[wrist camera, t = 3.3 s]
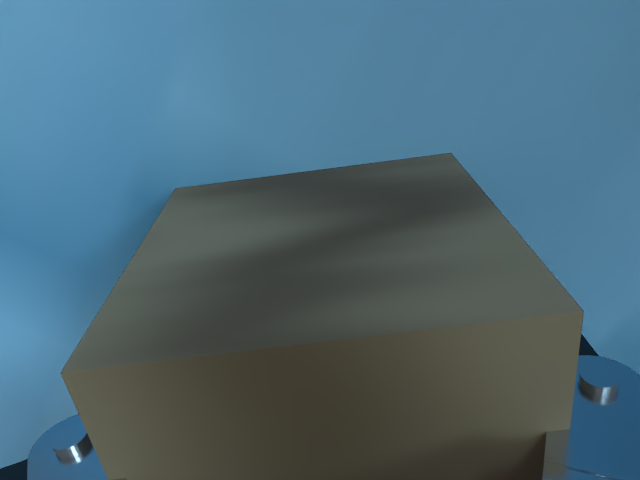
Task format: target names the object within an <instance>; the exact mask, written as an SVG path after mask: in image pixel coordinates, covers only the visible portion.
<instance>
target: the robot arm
mask: <svg viewBox="0 0 640 480" xmlns="http://www.w3.org/2000/svg"><path fill="white" fill-rule="evenodd" d="M0 480H108V479H107V476H106V474H105V472H104V470H103V467H102V465H101V463H100V461H99V458H98V456H97V454H96V452H95V449H94V447H93V445H92V443H91V440H90V438H89V436H88V434H87V431H86V429H85V427H84V425H83V422H82V420H81V418H80V416H79V413H78V415H75V416H72V417H69V418H67V419H65V420H63V421H61V422H59V423H58V424H56V425H54V426H53V427H52V428H50V429H49V430H48V431H46V432H45V433H44V434H43V435H42V436H41V437H40V438H39V439H38V440H37V442H36V443H35V444H34V446H33V447H32V449H31V451H30V453H29V456H28V459H26V460H24V461H21V462H18V463H16V464H13V465H10V466H7V467H4V468H2V469H0ZM112 480H127V479H126V478H121V479H112ZM542 480H640V375H639V374H637V373H636V372H635V371H634V370H632V369H631V368H629V367H628V366H626V365H624V364H622V363H620V362H617V361H615V360H612V359H609V358H605V357H600V356H598V354H597V353H596V352H595V351H594V349H593V348H592V347H591V345H590V344H589V343H588V342H587V340H586V339H585V338H584V337H583V335H582V334H581V339H580V347H579V356H578V365H577V373H576V382H575V390H574V399H573V408H572V416H571V425H570V429H566V430H557V431H548V432H546V444H545V455H544V467H543V478H542Z"/></svg>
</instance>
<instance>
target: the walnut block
mask: <svg viewBox="0 0 640 480" xmlns="http://www.w3.org/2000/svg"><path fill="white" fill-rule="evenodd" d="M583 313H584V311H583V310H582V308H581V307H580V306H579V305H578V304H577V302H576V301H575V300H574V299H573V298H572V296H571V295H570V294H569V293H568V292H567V291H566V289H565V288H564V287H563V286H562V285H561V283H560V282H559V281H558V280H557V279H556V277H555V276H554V275H553V274H552V273H551V271H550V270H549V269H548V268H547V267H546V265H545V264H544V263H543V262H542V261H541V260H540V258H539V257H538V256H537V255H536V254H535V252H534V251H533V250H532V249H531V248H530V246H529V245H528V244H527V243H526V242H525V240H524V239H523V238H522V237H521V236H520V234H519V233H518V232H517V231H516V230H515V229H514V227H513V226H512V225H511V224H510V223H509V221H508V220H507V219H506V218H505V217H504V215H503V214H502V213H501V212H500V211H499V209H498V208H497V207H496V206H495V205H494V203H493V202H492V201H491V200H490V199H489V197H488V196H487V195H486V194H485V193H484V192H483V190H482V189H481V188H480V187H479V186H478V184H477V183H476V182H475V181H474V180H473V178H472V177H471V176H470V175H469V174H468V172H467V171H466V170H465V169H464V168H463V166H462V165H461V164H460V163H459V162H458V161H457V159H456V158H455V157H454V156H453V155H452V153H447V154H439V155H431V156H423V157H416V158H408V159H400V160H392V161H385V162H377V163H369V164H361V165H354V166H346V167H338V168H330V169H323V170H315V171H307V172H299V173H292V174H284V175H276V176H268V177H261V178H253V179H245V180H237V181H230V182H222V183H214V184H206V185H199V186H191V187H183V188H176V189H175V190H174V192H173V193H172V195H171V197H170V198H169V200H168V201H167V203H166V205H165V206H164V208H163V209H162V211H161V213H160V214H159V216H158V217H157V219H156V221H155V222H154V224H153V225H152V227H151V229H150V230H149V232H148V233H147V235H146V237H145V238H144V240H143V241H142V243H141V245H140V246H139V248H138V249H137V251H136V253H135V254H134V256H133V257H132V259H131V261H130V262H129V264H128V265H127V267H126V269H125V270H124V272H123V273H122V275H121V277H120V278H119V280H118V281H117V283H116V285H115V286H114V288H113V289H112V291H111V293H110V294H109V296H108V297H107V299H106V301H105V302H104V304H103V305H102V307H101V309H100V310H99V312H98V313H97V315H96V317H95V318H94V320H93V321H92V323H91V325H90V326H89V328H88V329H87V331H86V333H85V334H84V336H83V337H82V339H81V341H80V342H79V344H78V345H77V347H76V349H75V350H74V352H73V353H72V355H71V357H70V358H69V360H68V361H67V363H66V365H65V366H64V368H63V369H62V371H61V375H62V377H63V380H64V382H65V384H66V386H67V389H68V391H69V393H70V395H71V398H72V400H73V402H74V404H75V407H76V409H77V411H78V413H79V416H80V418H81V420H82V422H83V425H84V427H85V429H86V431H87V434H88V436H89V438H90V440H91V443H92V445H93V447H94V449H95V452H96V454H97V456H98V458H99V461H100V463H101V465H102V467H103V470H104V472H105V474H106V476H107V479H108V480H112V479H121V478H126V479H127V480H542V478H543V467H544V455H545V444H546V432H548V431H557V430H566V429H570V425H571V416H572V408H573V399H574V390H575V382H576V373H577V365H578V356H579V347H580V339H581V330H582V321H583Z"/></svg>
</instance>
